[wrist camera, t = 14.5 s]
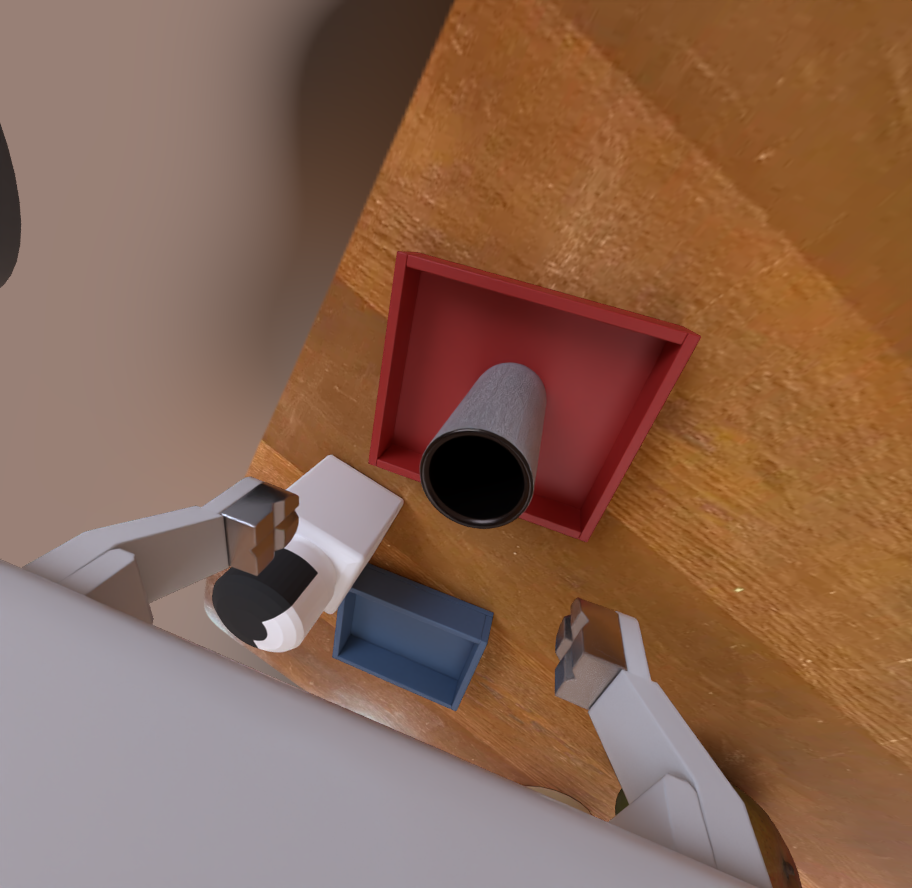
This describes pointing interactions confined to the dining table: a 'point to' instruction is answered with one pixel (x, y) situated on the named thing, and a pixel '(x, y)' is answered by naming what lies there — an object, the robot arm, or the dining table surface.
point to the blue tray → (411, 635)
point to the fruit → (759, 842)
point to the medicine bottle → (309, 558)
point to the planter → (488, 450)
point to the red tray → (546, 353)
